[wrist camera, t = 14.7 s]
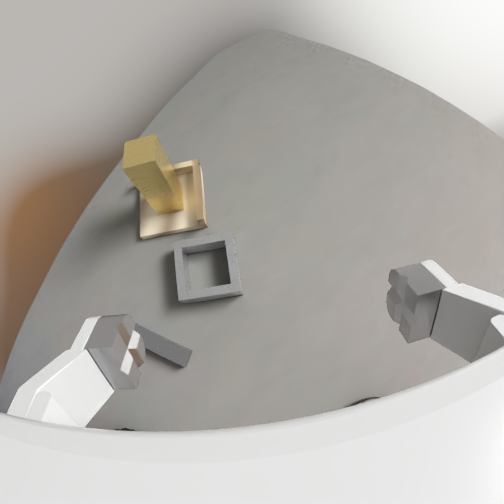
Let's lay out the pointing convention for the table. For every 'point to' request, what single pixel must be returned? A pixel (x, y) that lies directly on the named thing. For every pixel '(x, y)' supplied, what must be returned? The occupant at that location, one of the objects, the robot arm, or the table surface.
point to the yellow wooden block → (153, 174)
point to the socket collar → (203, 245)
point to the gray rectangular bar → (164, 346)
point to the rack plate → (178, 220)
